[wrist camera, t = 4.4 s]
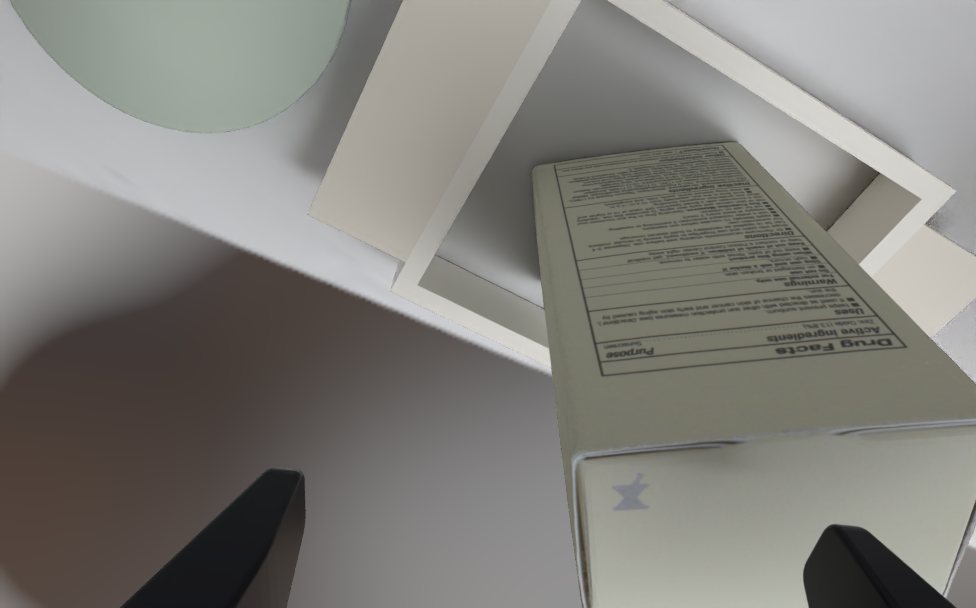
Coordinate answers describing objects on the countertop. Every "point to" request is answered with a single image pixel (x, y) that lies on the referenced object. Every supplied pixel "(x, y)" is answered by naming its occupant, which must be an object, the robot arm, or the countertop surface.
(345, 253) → the countertop surface
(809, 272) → the skincare box
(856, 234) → the white rectangular tray
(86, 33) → the coaster
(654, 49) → the countertop surface
